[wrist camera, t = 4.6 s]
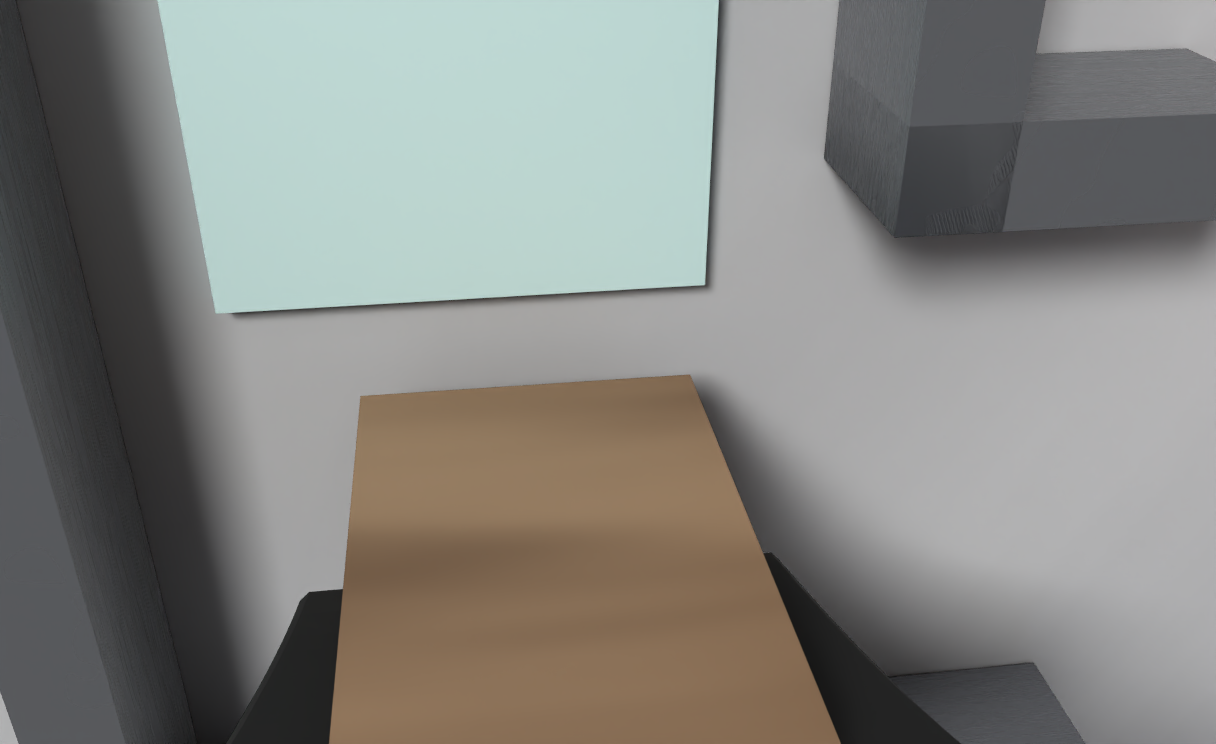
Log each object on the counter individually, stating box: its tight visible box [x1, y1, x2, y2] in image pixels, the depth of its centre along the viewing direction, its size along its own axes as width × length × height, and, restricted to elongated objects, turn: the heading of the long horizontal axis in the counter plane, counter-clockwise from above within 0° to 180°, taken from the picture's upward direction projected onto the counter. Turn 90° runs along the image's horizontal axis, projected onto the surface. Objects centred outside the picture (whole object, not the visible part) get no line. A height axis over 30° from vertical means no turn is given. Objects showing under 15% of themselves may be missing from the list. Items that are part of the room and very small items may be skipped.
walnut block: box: [329, 375, 841, 744], centre depth 12 cm, size 4×4×6 cm
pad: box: [157, 0, 719, 314], centre depth 13 cm, size 6×6×1 cm
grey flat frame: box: [0, 0, 1216, 744], centre depth 14 cm, size 15×15×2 cm
